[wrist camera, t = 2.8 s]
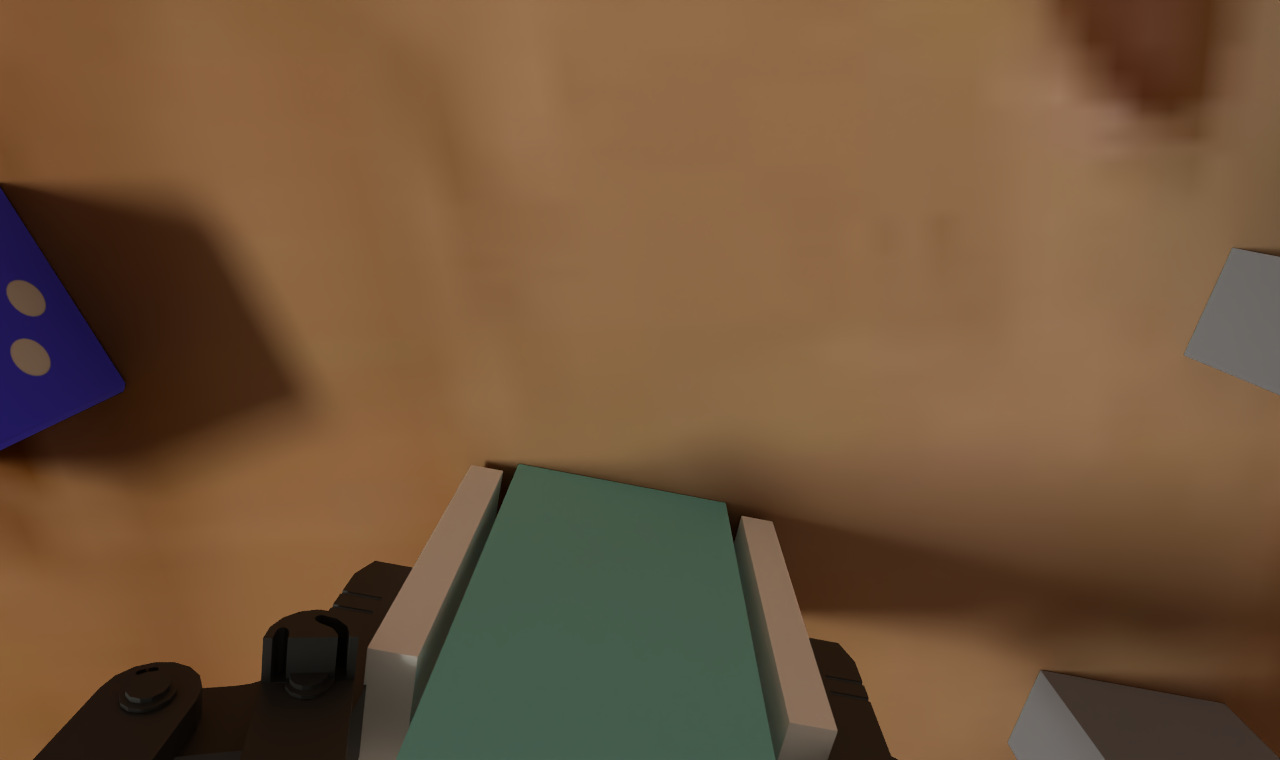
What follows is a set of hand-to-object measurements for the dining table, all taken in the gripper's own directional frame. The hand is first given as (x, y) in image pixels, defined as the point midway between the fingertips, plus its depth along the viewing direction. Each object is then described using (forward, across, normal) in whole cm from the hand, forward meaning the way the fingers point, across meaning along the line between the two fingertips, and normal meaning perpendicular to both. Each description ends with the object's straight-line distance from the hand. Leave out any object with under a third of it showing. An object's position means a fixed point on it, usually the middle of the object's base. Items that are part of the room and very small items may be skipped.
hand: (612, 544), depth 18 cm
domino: (0, 0, 0) cm, 0 cm away
